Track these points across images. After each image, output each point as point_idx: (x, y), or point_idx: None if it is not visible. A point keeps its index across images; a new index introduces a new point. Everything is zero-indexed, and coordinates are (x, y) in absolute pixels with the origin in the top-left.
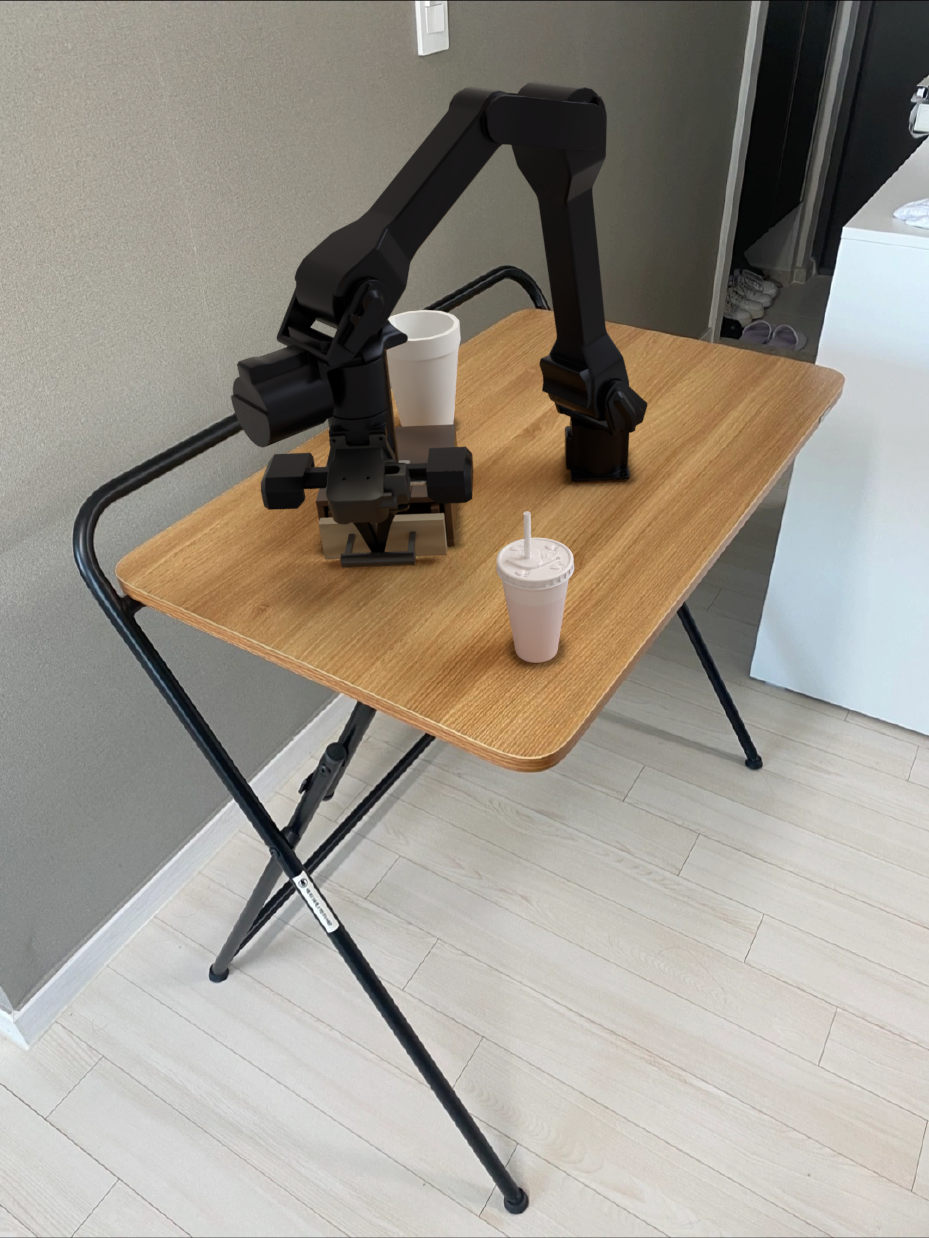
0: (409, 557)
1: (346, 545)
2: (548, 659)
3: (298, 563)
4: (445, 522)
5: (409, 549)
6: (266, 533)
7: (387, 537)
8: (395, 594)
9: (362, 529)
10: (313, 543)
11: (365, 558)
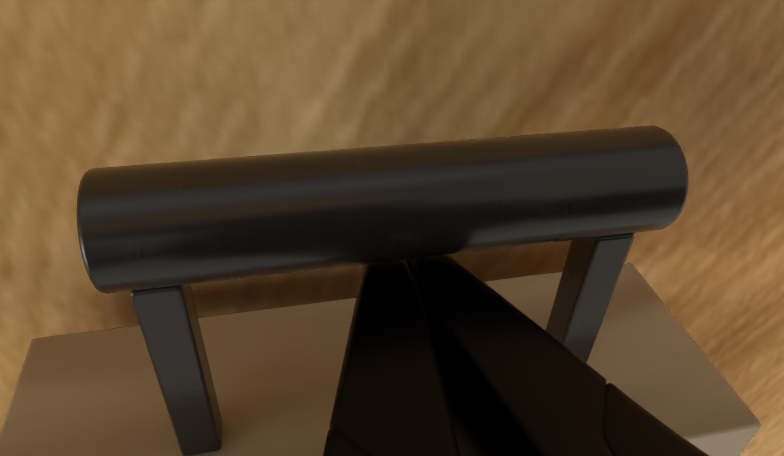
0: (123, 212)
1: (606, 307)
2: None
3: (708, 250)
4: None
5: (169, 310)
6: (759, 372)
7: (342, 375)
8: (271, 39)
9: (613, 425)
10: None
11: (506, 183)
